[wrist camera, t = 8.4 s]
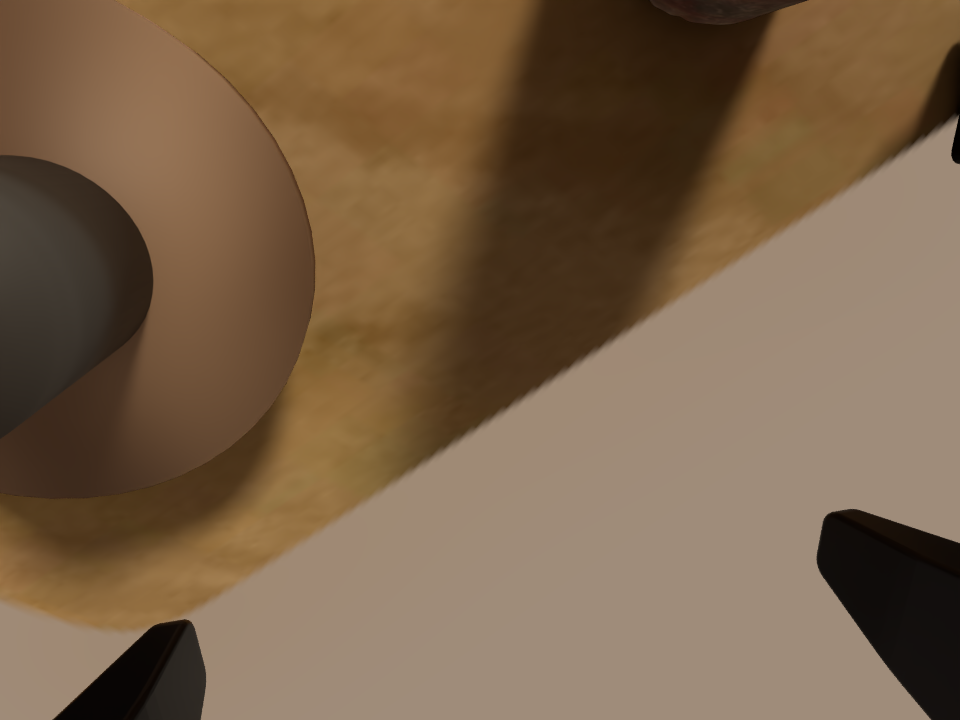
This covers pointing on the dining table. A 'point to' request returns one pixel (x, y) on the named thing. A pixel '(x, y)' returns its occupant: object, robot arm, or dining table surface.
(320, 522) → the dining table surface
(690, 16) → the candle
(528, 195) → the dining table surface
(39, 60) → the lid
